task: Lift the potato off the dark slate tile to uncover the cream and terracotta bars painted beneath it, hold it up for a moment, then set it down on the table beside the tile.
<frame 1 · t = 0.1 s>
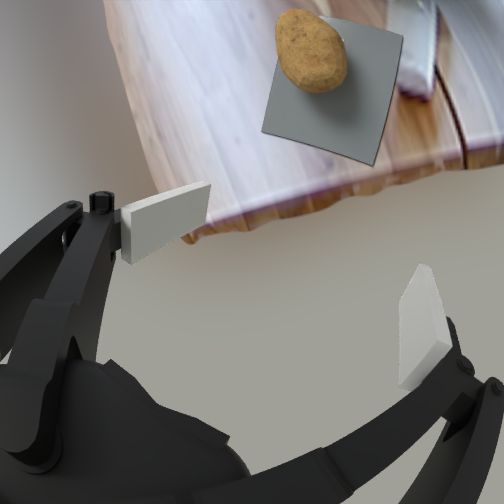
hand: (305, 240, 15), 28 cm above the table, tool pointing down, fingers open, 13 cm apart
code tile: (332, 79, 33), on the table
potato: (316, 58, 33), resting on code tile
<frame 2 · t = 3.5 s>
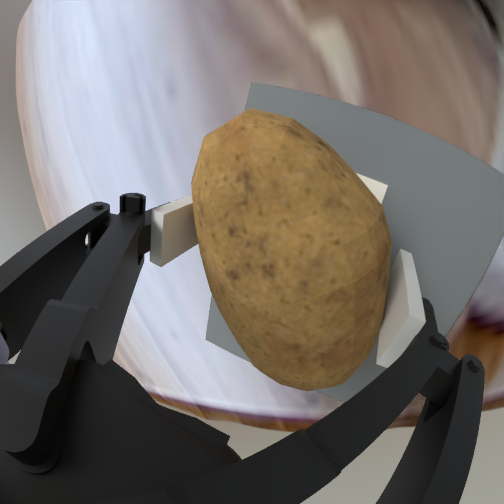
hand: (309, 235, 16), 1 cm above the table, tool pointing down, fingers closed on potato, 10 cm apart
code tile: (340, 283, 18), on the table
potato: (311, 227, 17), resting on code tile, touching gripper
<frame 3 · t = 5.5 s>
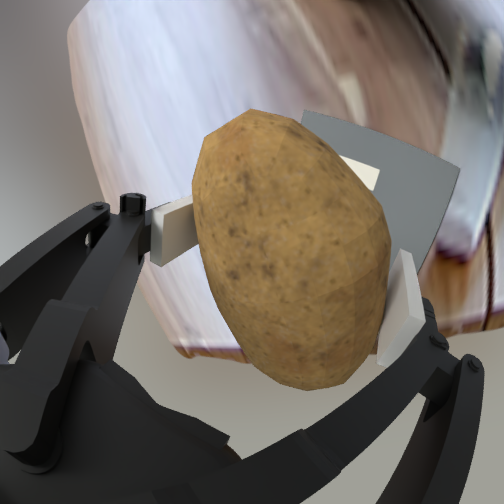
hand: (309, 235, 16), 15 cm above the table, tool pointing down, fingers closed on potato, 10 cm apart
code tile: (355, 228, 29), on the table
potato: (311, 228, 17), point 14 cm above the table, touching gripper
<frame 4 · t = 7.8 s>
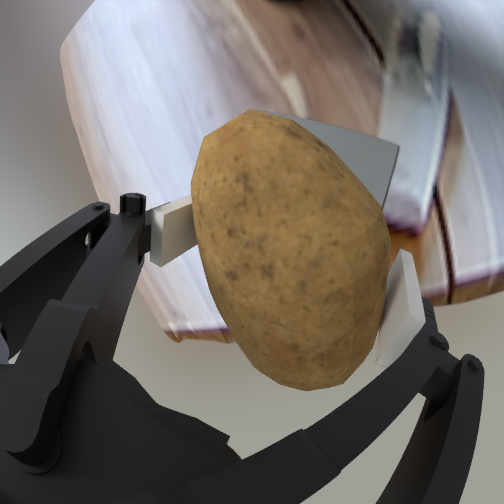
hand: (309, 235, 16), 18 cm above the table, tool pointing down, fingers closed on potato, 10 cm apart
code tile: (305, 209, 34), on the table
potato: (310, 228, 17), point 17 cm above the table, touching gripper
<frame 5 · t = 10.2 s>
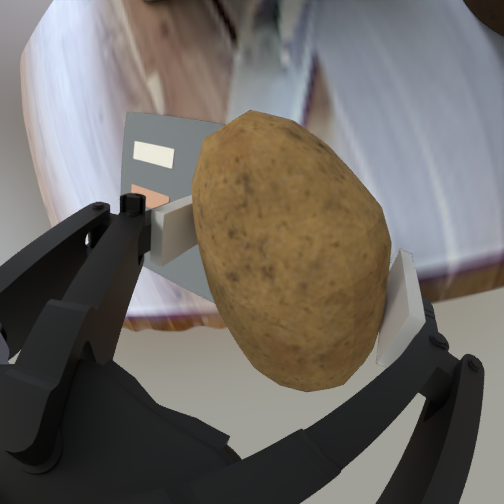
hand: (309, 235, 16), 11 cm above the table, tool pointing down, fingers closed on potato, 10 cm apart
code tile: (167, 204, 33), on the table
potato: (311, 229, 17), point 9 cm above the table, touching gripper
olive oil: (493, 2, 8), on the table
when the fingers open (3 cm above the table, at t = 12.2 s): potato drops 2 cm, on the table.
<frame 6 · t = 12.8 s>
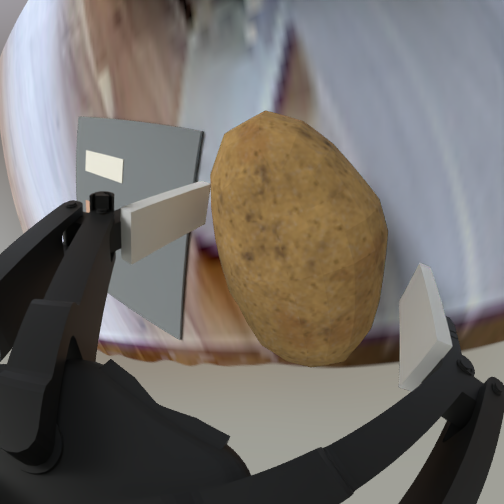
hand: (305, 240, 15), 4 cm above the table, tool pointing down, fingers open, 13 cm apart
code tile: (121, 224, 27), on the table
potato: (314, 220, 18), on the table
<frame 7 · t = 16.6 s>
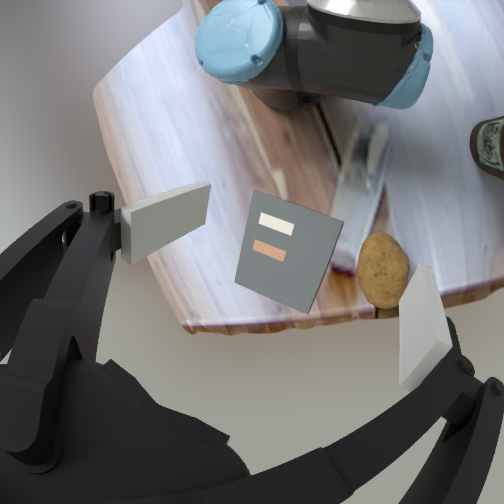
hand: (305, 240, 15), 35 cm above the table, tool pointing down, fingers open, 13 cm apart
code tile: (283, 255, 56), on the table
potato: (382, 259, 48), on the table
olive oil: (489, 146, 31), on the table
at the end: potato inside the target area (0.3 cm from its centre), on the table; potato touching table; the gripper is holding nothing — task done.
